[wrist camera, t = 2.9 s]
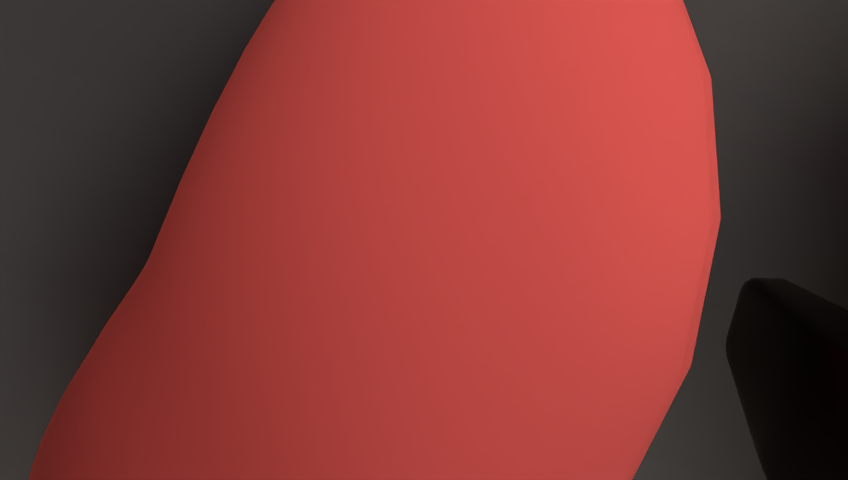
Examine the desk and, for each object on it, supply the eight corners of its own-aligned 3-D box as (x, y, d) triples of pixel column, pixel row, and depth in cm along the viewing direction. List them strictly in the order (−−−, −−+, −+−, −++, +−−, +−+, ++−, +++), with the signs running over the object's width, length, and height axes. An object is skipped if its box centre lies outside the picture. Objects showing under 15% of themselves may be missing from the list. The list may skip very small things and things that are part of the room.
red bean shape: (724, 190, 11) (1104, 112, 5) (326, 696, 11) (215, 1256, 5) (437, -40, 11) (466, -397, 5) (34, 463, 11) (-446, 728, 5)
